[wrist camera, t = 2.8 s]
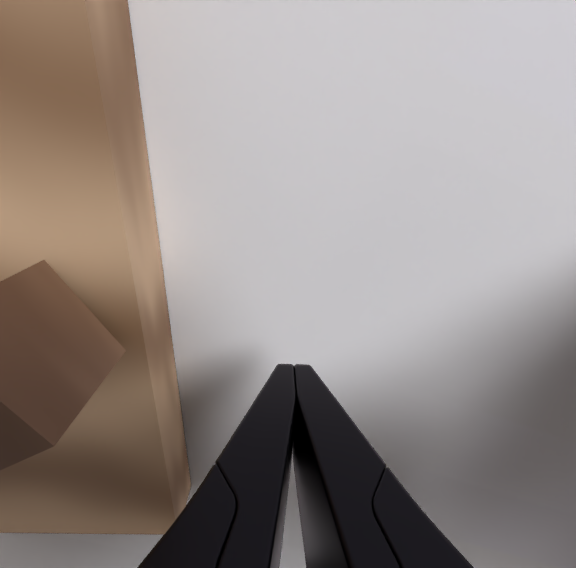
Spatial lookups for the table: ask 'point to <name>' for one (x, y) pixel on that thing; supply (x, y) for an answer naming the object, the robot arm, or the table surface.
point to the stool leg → (46, 360)
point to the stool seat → (90, 265)
